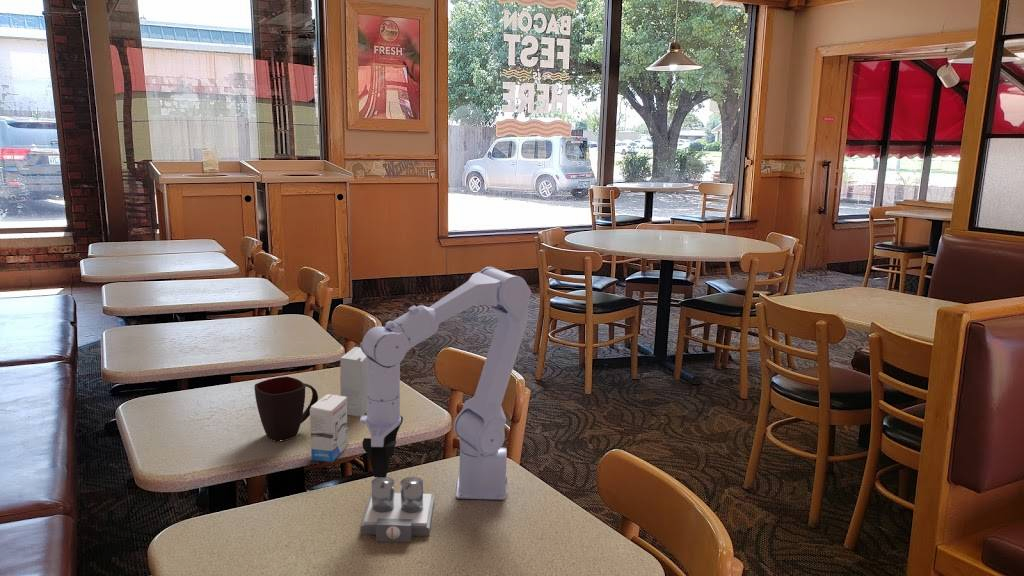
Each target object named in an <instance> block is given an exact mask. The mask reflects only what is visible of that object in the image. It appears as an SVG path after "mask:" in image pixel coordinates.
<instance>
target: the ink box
mask: <svg viewBox="0 0 1024 576" xmlns="http://www.w3.org/2000/svg"><path fill="white" fill-rule="evenodd" d="M309 425H310V426H309V427H310V428H309V429H310V451H311V453H310V454H311V461H318V462H327V463H333V462H334V461H335V460H336V459H337V458H338V457H339V456H340V455H341V454H342V453H343V451H344V450H345V449H346V448H347V447H346V445H347V443H348V442H349V440H348V415H347V397H345V396H341V395H336V394H331V393H330V394H329V393H328V394H327V393H326V394H325V395H324V396H323V397H321V398H320V399H318V401H317V402H316V403H315V404H313V405H312V406H311V408H310V416H309ZM348 444H349V443H348ZM345 447H346V448H345Z"/></svg>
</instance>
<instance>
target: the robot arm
mask: <svg viewBox="0 0 1024 576" xmlns="http://www.w3.org/2000/svg"><path fill="white" fill-rule="evenodd" d="M531 295H532V290H531V288H530V287H529V285H528V284H527V282H526V280H525V279H524V278H523V277H522V276H518V275H514V274H511V273H508V272H506V271H502V270H500V269H498V268H496V267H494V266H486V267H484V268H482V269H481V270H480V271H478V272H475V273H473V274H472V275H471V276H470V277H469V278H468V280H467V281H466V282H464V283H463V284H461V285H460V286H458V287H457V288H455V289H454V290H452V291H451V292H449V293H447V294H446V295H445V296H444V297H442V298H441V299H439V300H438V301H436V302H435V303H433V304H432V305H430V306H425V305H420V304H419V305H417V306H416V305H412V306H410V307H408V311H407V312H406V313H404V314H402V315H401V316H399V317H397V318H395V319H394V320H389V321H387V322H385V325H384V326H379V325H378V326H374V327H371V328H370V329H368V331H367V332H366V333H365V334H364V336H363V338H362V342H359V347H360V348H361V350H362V352H363V353H364V354H365V355H366V359H367V371H366V377H367V413H366V415H363V416H362V417H359V418H360V419H359V423H360V424H362V425H365V426H366V427H367V430H368V432H369V434H370V437H369V438H367V437H366V438H365V437H364V438H363V439H362V444H361V445H362V449H363V450H364V452H365V453H366V455H367V457H368V459H369V460H368V461H369V463H370V467H371V472H372V474H373V478H377V477H379V478H386V476H387V475H388V471H389V467H390V459H391V458H392V457H393V456H394V452H395V447H396V445H397V441H396V440H397V436H398V432H399V429H400V427H401V425H402V424H403V421H404V417H403V416H402V415H401V407H400V406H401V405H400V404H401V402H400V401H401V393H400V392H401V387H400V386H401V381H400V379H401V370H400V369H401V365H400V364H401V362H402V361H403V360H404V358H406V355H407V353H408V352H409V351H410V350H411V349H412V348H414V347H416V346H417V345H419V344H420V343H422V342H424V341H425V340H427V339H429V338H430V337H432V336H433V335H435V334H437V332H438V331H439V330H438V329H439V325H440V324H441V323H443V322H445V321H446V320H449V319H451V318H452V317H454V316H456V315H458V314H460V313H462V312H464V311H466V310H468V309H470V308H472V307H473V306H475V305H480V306H481V305H482V306H488V307H489V306H490V309H491V310H492V312H493V314H494V315H495V317H496V319H497V322H496V325H495V329H494V333H493V336H492V339H491V342H490V345H489V349H488V352H487V356H486V358H485V362H484V365H483V367H482V371H481V374H480V377H479V380H478V384H477V386H476V390H475V392H474V396H472V397H470V398H468V399H467V400H465V401H464V404H463V406H462V408H461V411H459V413H458V414H457V415H456V417H455V420H454V421H453V432H454V434H455V435H456V436H457V437H459V440H458V441H459V467H458V468H459V471H458V472H459V473H458V475H459V476H458V477H457V483H456V490H455V491H456V492H455V497H456V499H458V500H459V499H462V500H463V499H464V500H465V499H466V500H470V499H471V500H499V501H500V500H501V501H502V500H506V486H507V484H508V474H507V461H508V459H507V458H508V457H507V455H508V454H507V453H508V451H507V449H508V448H506V447H502V446H503V444H504V442H505V438H506V437H505V436H506V435H505V434H506V433H505V426H506V423H507V417H506V415H505V412H504V409H503V407H502V403H503V401H504V398H505V394H506V391H507V388H508V385H509V381H510V378H511V375H512V372H513V370H514V366H515V363H516V360H517V356H518V353H519V351H520V347H521V344H522V341H523V338H524V334H525V331H526V328H527V325H528V322H529V302H530V300H531V299H530V298H531ZM387 477H388V476H387Z"/></svg>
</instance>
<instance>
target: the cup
mask: <svg viewBox="0 0 1024 576" xmlns="http://www.w3.org/2000/svg"><path fill="white" fill-rule="evenodd" d="M253 388H254V396H255V402H256V407H257V410H258V414H259V415H258V416H259V418H260V421H261V425H262V428H263V430H264V432H265V435H266V437H267V438H268V439H269V438H270V440H271V439H272V440H271V441H273V440H275V441H274V442H276V441H280V440H285V441H287V440H286V439H289V438H291V439H293V438H292V437H294V436H295V437H297V436H296V435H298V433H299V430H300V426H301V424H302V423H304V421H306V420H307V419H308V418H310V408H311V406H312V405H313V404H315V403H316V402H317V401H319V394H318V392H317V390H316V389H315V387H314V386H313V385H311V384H309V383H304V382H303V381H301V380H300V379H297V378H296V377H291V376H279V377H273V378H269V379H265V380H262V381H260V382H257V383H255V384H254V387H253ZM306 388H308V389H310V390H311V393H312V395H311V400H310V402H309V405H308V406H307V407H306V409H304V408H305V403H306V402H305V401H306ZM304 410H305V411H304ZM295 437H294V438H295ZM289 440H290V439H289ZM280 442H281V441H280Z"/></svg>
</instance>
